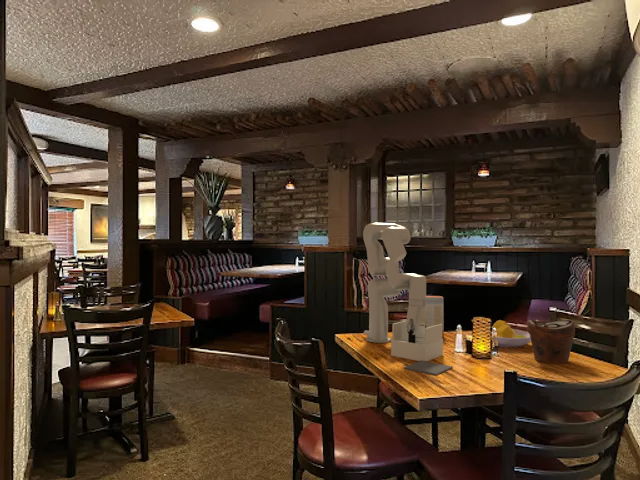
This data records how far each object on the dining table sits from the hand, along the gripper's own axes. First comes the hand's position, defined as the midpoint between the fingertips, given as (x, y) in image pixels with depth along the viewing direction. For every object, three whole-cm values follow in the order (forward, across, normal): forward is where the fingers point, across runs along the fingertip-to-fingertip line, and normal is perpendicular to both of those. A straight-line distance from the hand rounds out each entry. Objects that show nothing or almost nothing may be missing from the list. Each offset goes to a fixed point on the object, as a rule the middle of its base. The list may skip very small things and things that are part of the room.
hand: (416, 341), depth 210 cm
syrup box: (+6, 0, 0) cm, 6 cm away
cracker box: (+7, -46, -18) cm, 50 cm away
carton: (+6, 0, 0) cm, 6 cm away
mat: (+6, +16, +14) cm, 22 cm away
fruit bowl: (+6, -49, +20) cm, 53 cm away
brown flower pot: (+6, -31, +47) cm, 57 cm away
